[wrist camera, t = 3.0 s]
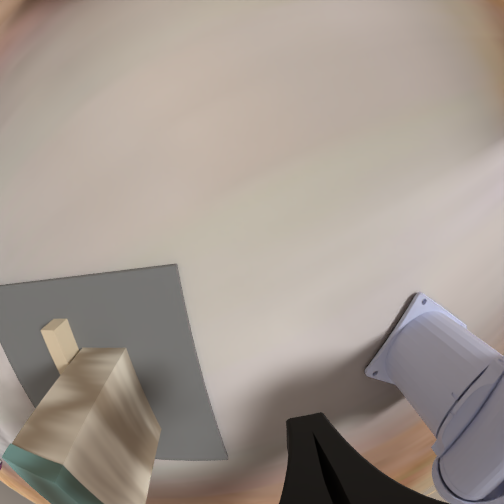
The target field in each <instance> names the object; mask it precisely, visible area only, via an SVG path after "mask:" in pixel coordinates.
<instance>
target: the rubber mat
mask: <svg viewBox="0 0 504 504" xmlns="http://www.w3.org/2000/svg"><path fill="white" fill-rule="evenodd" d="M0 343H1V345H2V347H3V349H4V352H5V354H6V356H7V358H8V360H9V362H10V364H11V366H12V368H13V370H14V372H15V374H16V376H17V378H18V380H19V381H20V383H21V385H22V387H23V388H24V390H25V392H26V394H27V395H28V397H29V399H30V400H31V402H32V403H33V405H34V407H35V408H36V407H37V406H38V405H39V403H40V402H41V400H42V399H43V398H44V396H45V395H46V394H47V392H48V391H49V390H50V388H51V387H52V386H53V384H54V383H55V382H56V380H57V379H58V378H59V377H60V375H61V374H62V373H63V371H64V370H65V369H66V368H67V366H68V365H69V364H70V363H71V361H72V360H73V359H74V358H75V356H76V355H77V354H78V353H79V352H80V350H81V349H82V348H126V349H127V352H128V354H129V357H130V360H131V362H132V365H133V367H134V370H135V372H136V375H137V377H138V380H139V382H140V385H141V387H142V389H143V391H144V394H145V396H146V398H147V400H148V403H149V405H150V407H151V409H152V411H153V413H154V415H155V417H156V419H157V421H158V423H159V425H160V427H161V433H160V438H159V442H158V446H157V451H156V455H155V459H162V460H185V461H208V460H228V455H227V452H226V450H225V447H224V444H223V441H222V438H221V435H220V432H219V429H218V426H217V423H216V420H215V417H214V413H213V410H212V407H211V404H210V400H209V397H208V394H207V390H206V387H205V383H204V380H203V376H202V372H201V369H200V365H199V361H198V357H197V353H196V349H195V345H194V341H193V337H192V333H191V329H190V325H189V320H188V316H187V311H186V307H185V302H184V297H183V292H182V287H181V282H180V277H179V272H178V267H177V264H170V265H162V266H154V267H146V268H138V269H130V270H121V271H113V272H105V273H97V274H89V275H81V276H72V277H64V278H56V279H48V280H40V281H31V282H23V283H15V284H6V285H0Z"/></svg>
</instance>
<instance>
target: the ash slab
mask: <svg viewBox="0 0 504 504" xmlns="http://www.w3.org/2000/svg"><path fill="white" fill-rule="evenodd" d="M160 433H161V427H160V425H159V423H158V421H157V419H156V417H155V415H154V413H153V411H152V409H151V407H150V405H149V403H148V400H147V398H146V396H145V394H144V391H143V389H142V387H141V385H140V382H139V380H138V377H137V375H136V372H135V370H134V367H133V365H132V362H131V360H130V357H129V354H128V352H127V349H126V348H82V349H81V350H80V352H79V353H78V354H77V355H76V356H75V358H74V359H73V360H72V361H71V363H70V364H69V365H68V366H67V368H66V369H65V370H64V371H63V373H62V374H61V375H60V377H59V378H58V379H57V380H56V382H55V383H54V384H53V386H52V387H51V388H50V390H49V391H48V392H47V394H46V395H45V396H44V398H43V399H42V400H41V402H40V403H39V405H38V406H37V407H36V409H35V410H34V412H33V413H32V414H31V416H30V417H29V419H28V420H27V422H26V423H25V424H24V426H23V427H22V429H21V430H20V432H19V433H18V435H17V436H16V438H15V439H14V441H13V443H12V444H11V443H10V445H9V446H8V448H7V449H6V451H5V453H4V454H3V456H2V458H3V459H4V460H5V461H6V462H7V463H8V464H9V465H10V466H11V467H12V468H13V469H14V471H15V472H16V473H17V474H18V475H20V476H21V477H22V478H23V479H24V480H25V481H26V482H27V483H28V484H29V485H30V486H31V487H32V488H33V489H35V490H36V491H37V492H38V493H39V494H40V495H41V496H43V497H44V498H45V499H46V500H48V501H49V502H50V503H51V504H146V499H147V493H148V488H149V483H150V479H151V474H152V469H153V464H154V460H155V455H156V451H157V446H158V442H159V438H160Z"/></svg>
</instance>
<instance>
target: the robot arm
mask: <svg viewBox="0 0 504 504" xmlns="http://www.w3.org/2000/svg"><path fill="white" fill-rule="evenodd" d="M423 299H424V300H423ZM422 301H423V302H422ZM375 371H376V372H375ZM365 374H366V376H368V377H371V378H374V379H377V380H381V381H384V382H387V383H391V384H394V385H396V386H397V387H398V389H399V390H400V391H401V392H402V394H403V395H404V396H405V398H406V399H407V400H408V401H409V403H410V404H411V405H412V407H413V408H414V409H415V411H416V412H417V413H418V414H419V416H420V417H421V418H422V420H423V421H424V422H425V424H426V425H427V426H428V428H429V429H430V430H431V432H432V433H433V434H434V436H435V437H436V438H437V440H436V442H435V443H434V444H433V446H432V447H431V448H432V449H433V451H434V452H435V454H436V455H437V457H436V458H435V460H434V463H433V466H432V478H433V482H434V485H435V487H436V490H437V491H438V493H439V494H440V496H441V497H442V498H443V499H444V500H446V501H447V502H449V503H450V504H504V356H503V355H501V354H500V353H499V352H497V351H496V350H495V349H493V348H492V347H491V346H489V345H488V344H486V343H485V342H484V341H482V340H481V339H480V338H478V337H477V336H475V335H474V334H472V333H471V332H470V331H468V330H467V325H465V324H464V323H463V322H462V321H460V320H459V319H458V318H456V317H455V316H454V315H452V314H451V313H450V312H448V311H447V310H446V309H444V308H443V307H441V306H440V305H439V304H437V303H436V302H435V301H433V300H432V299H430V298H429V297H428V296H426V295H425V294H423V293H422V292H418V293H417V294H416V295H415V297H414V298H413V300H412V302H411V303H410V305H409V307H408V308H407V310H406V311H405V313H404V315H403V316H402V318H401V319H400V321H399V323H398V324H397V326H396V327H395V329H394V330H393V332H392V333H391V335H390V336H389V338H388V339H387V340H386V342H385V343H384V345H383V346H382V348H381V349H380V350H379V352H378V353H377V354H376V356H375V357H374V359H373V360H372V361H371V362H370V364H369V365H368V366H367V368H366V369H365ZM286 426H287V449H288V465H287V471H286V477H285V482H284V487H283V491H282V495H281V499H280V502H279V504H449V503H446V502H442V501H439V500H436V499H433V498H430V497H427V496H425V495H422V494H420V493H418V492H416V491H414V490H412V489H409V488H407V487H405V486H403V485H402V484H400V483H398V482H396V481H395V480H393V479H391V478H390V477H388V476H387V475H385V474H384V473H382V472H381V471H380V470H378V469H377V468H376V467H374V466H373V465H372V464H371V463H369V462H368V461H367V460H366V459H365V458H363V457H362V456H361V455H360V454H359V453H358V452H357V451H356V450H355V449H354V448H353V447H352V446H351V445H350V444H349V443H348V442H347V441H346V440H345V439H344V438H343V437H342V436H341V435H340V434H339V432H338V431H337V430H336V429H335V428H334V427H333V425H332V424H331V423H330V422H329V420H328V419H327V418H326V416H325V415H324V414H323V413H322V412H320V413H316V414H311V415H306V416H301V417H295V418H290V419H288V420H287V421H286Z"/></svg>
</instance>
